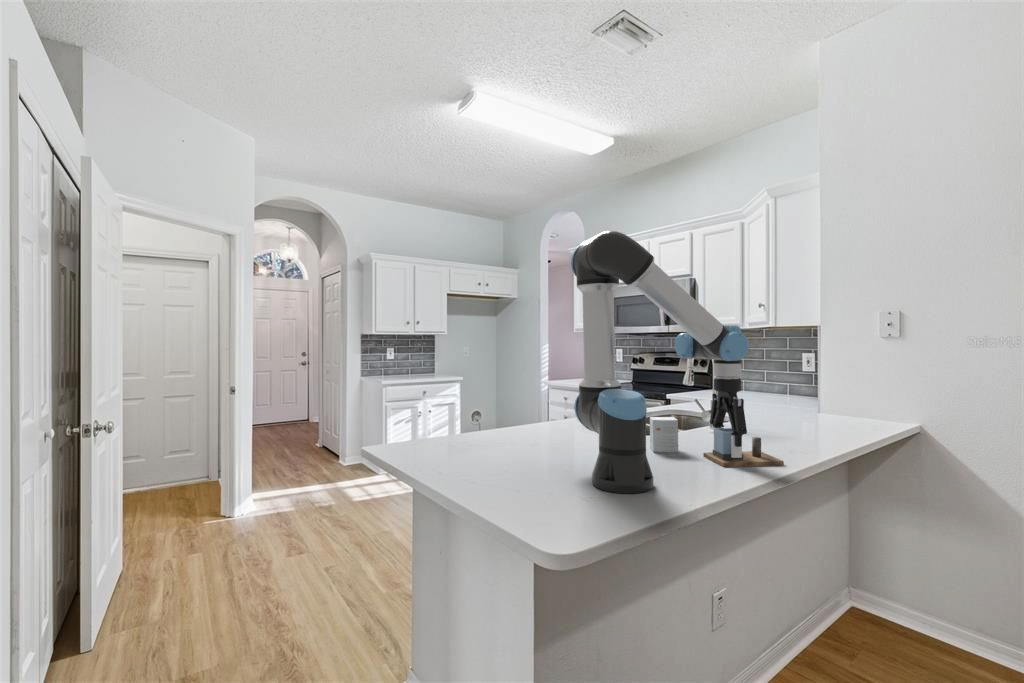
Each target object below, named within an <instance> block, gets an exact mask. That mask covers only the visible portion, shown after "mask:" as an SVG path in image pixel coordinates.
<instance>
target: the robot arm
mask: <svg viewBox="0 0 1024 683" xmlns="http://www.w3.org/2000/svg"><path fill="white" fill-rule="evenodd" d="M570 260H571V261H570V266H571V271H572V273H573V274H574V276H575V277H576V288H577V289H578V290H579V291H580V292H581V293H582V327H583V328H582V330H583V331H582V332H583V367H584V368H583V370H584V371H583V373H584V374H583V376H584V377H583V379H582V381H581V382H580V383H579V384H578V395H577V397H576V398H575V401H574V409H573V410H574V414H575V417H576V418H577V420H578V422H579V423H580V424H581V425H582V426H583V427H584V428H585V429H587V430H589V431H591V432H594V433H596V434H598V455H597V458H596V461H595V464H594V468H593V471H592V473H591V474H592V475H591V483H592V485H593V486H594V487H595V488H597V489H599V490H601V491H606V492H610V493H617V494H640V493H644V492H648V491H650V490H652V489H653V488H654V484H655V482H654V475H653V472H652V470H651V467H650V463H649V460H648V457H647V412H648V411H647V404H646V398H645V396H644V395H643V394H642V393H640V392H637V391H635V390H628V389H625V388H624V389H623V388H622V383H621V382H620V381H619V380H618V379H617V378H616V347H615V346H616V343H615V341H616V340H615V337H616V336H615V297H614V296H615V295H614V293H615V290H617V288H618V287H620V280H621V282H623V283H624V284H625V285H626V286H630V287H631V286H633V287H634V288H636V289H637V290H638V291H639V292H640V293H642V295H644V296H645V297H646V298H647V299H648V300H649V301H650V302H652V303H653V304H654V305H655V306H656V307H657V308H659V309H660V311H662V312H663V313H664V314H665V315H667V316H668V317H669V318H670V319H671V320H672V321H673V322H675V323H676V324H677V325H679V327H680V328H681V329H683V330H684V331H685V332H681V333H679V334H678V335H677V336H676V338H675V341H674V349H675V353H676V354H677V355H678V357H679V358H681V359H689V360H691V359H700V360H701V359H703V360H713V365H712V366H713V369H712V370H713V376H714V378H713V390H714V391H715V392H718V393H712V397H711V398H712V403H711V411H710V419H709V424H710V425H712V428H713V430H714V429H718V428H725V425H724V421H725V418H726V415H728V418H729V423H730V428H732V431H733V433H731V457H732V458H742V452H743V435H747V433H748V431H747V430H748V429H747V423H746V422H747V421H746V416H745V409H744V406H745V401H744V400H745V399H744V398H738V392H741V391H742V379H741V378H740V377H742V368H743V367H742V359H744V358H745V357H746V355H747V354H748V352H749V347H750V343H749V340H748V338H747V337H746V336H745V334H744V333H742V331H741V327H740V326H738V325H724V324H722V323H721V322H720V321H719V320H718V319H717V318H716V317H715V316H714V315H712V313H710V312H709V311H708V310H707V309H706V308H705V307H704V306H702V305H701V304H700V303H699V302H698V301H697V300H696V299H695V298H694V297H693V296H692V295H690V294H689V293H688V292H687V290H685V289H684V288H682V286H680V284H678V283H677V282H676V281H675V280H674V279H673V278H672V277H670V276H669V275H668V274H667V273H666V272H665V271H664V270H663V269H662V268H660V267H659V265H657V263H655V257H654V255H653V254H651V253H650V252H649V251H648V250H647V249H646V248H645V247H644V246H642V245H641V244H639V242H637V241H636V240H634V238H631V236H628V235H626V234H625V233H623V232H620V231H614V230H607V231H606V230H605V231H602V232H600V233H598V234H597V235H594V236H593V237H591V238H587V239H586V240H585V239H584V241H583V242H581V243H579V245H578V246H576V248H575V249H574V251H573V253H572V255H571V259H570Z"/></svg>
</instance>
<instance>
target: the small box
mask: <svg viewBox="0 0 1024 683" xmlns="http://www.w3.org/2000/svg"><path fill="white" fill-rule="evenodd" d="M649 448H650V449H651V450H652V452H653V453H679V420H678V419H677V418H676V417H674V416H673V417H672V416H650V417H649Z"/></svg>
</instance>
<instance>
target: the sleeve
mask: <svg viewBox="0 0 1024 683" xmlns="http://www.w3.org/2000/svg"><path fill="white" fill-rule="evenodd" d="M731 433H733V431H732V427H727V428H726V427H721V428H718V429H714V428H713V449H712V452H713V455H714V456H716V457H718V458H720V459H722V460H742V459H743V454H742V458H732V457H731Z"/></svg>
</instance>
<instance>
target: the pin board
mask: <svg viewBox="0 0 1024 683" xmlns="http://www.w3.org/2000/svg"><path fill="white" fill-rule="evenodd" d="M702 454H703V455H702V456H703V457H704V458H705V459H708V461H711V462H713V463H715V464H716V465H718V466H720V467H722V468H732V467H734V468H736V467H737V468H738V467H764V466H767V467H770V466H771V467H772V466H784V465H785V462H784V460H783V459H780V458H777V457H775V456H773V455H770V454H768V453H765V452H763V451H762V437H759V436H752V437H751V451H749V450H748V451H742V454H743V459H742V460H722V459H720V458H718V457H716V456H714V455H713V451H712V452H703V453H702Z"/></svg>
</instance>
